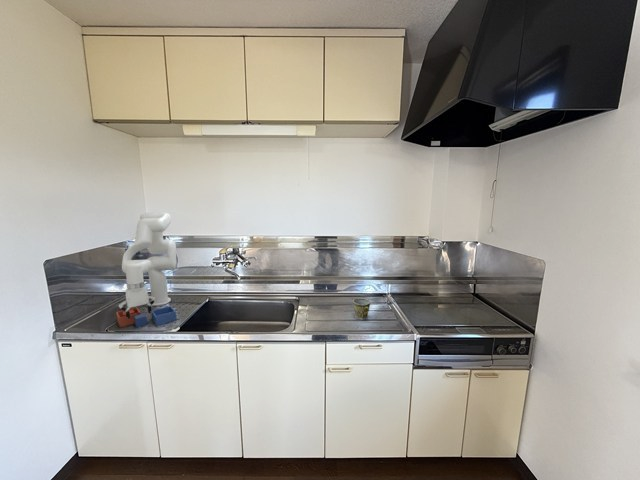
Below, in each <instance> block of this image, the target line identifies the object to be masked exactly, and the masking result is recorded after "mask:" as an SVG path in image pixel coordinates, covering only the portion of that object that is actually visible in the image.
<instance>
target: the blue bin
mask: <svg viewBox="0 0 640 480" xmlns="http://www.w3.org/2000/svg"><path fill="white" fill-rule="evenodd" d="M150 312H151V313H150V314H151V320H152V322H153V323H154V324H155V326H156V327H159V326H161V325H164V324H169V323H172V322H175V321H177V311H176V310H175V308H173V307H172V306H171V305H169V306H165V307H160V308H157V309H154V310H153V309H152V311H150Z"/></svg>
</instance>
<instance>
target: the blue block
mask: <svg viewBox="0 0 640 480" xmlns="http://www.w3.org/2000/svg"><path fill="white" fill-rule="evenodd" d="M134 321H135V323H134V325H135V327H136V328H140V327H143V326H147V325H148V319H147V315H146V314H145V313H141V314H140V315H136V316H134Z"/></svg>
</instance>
